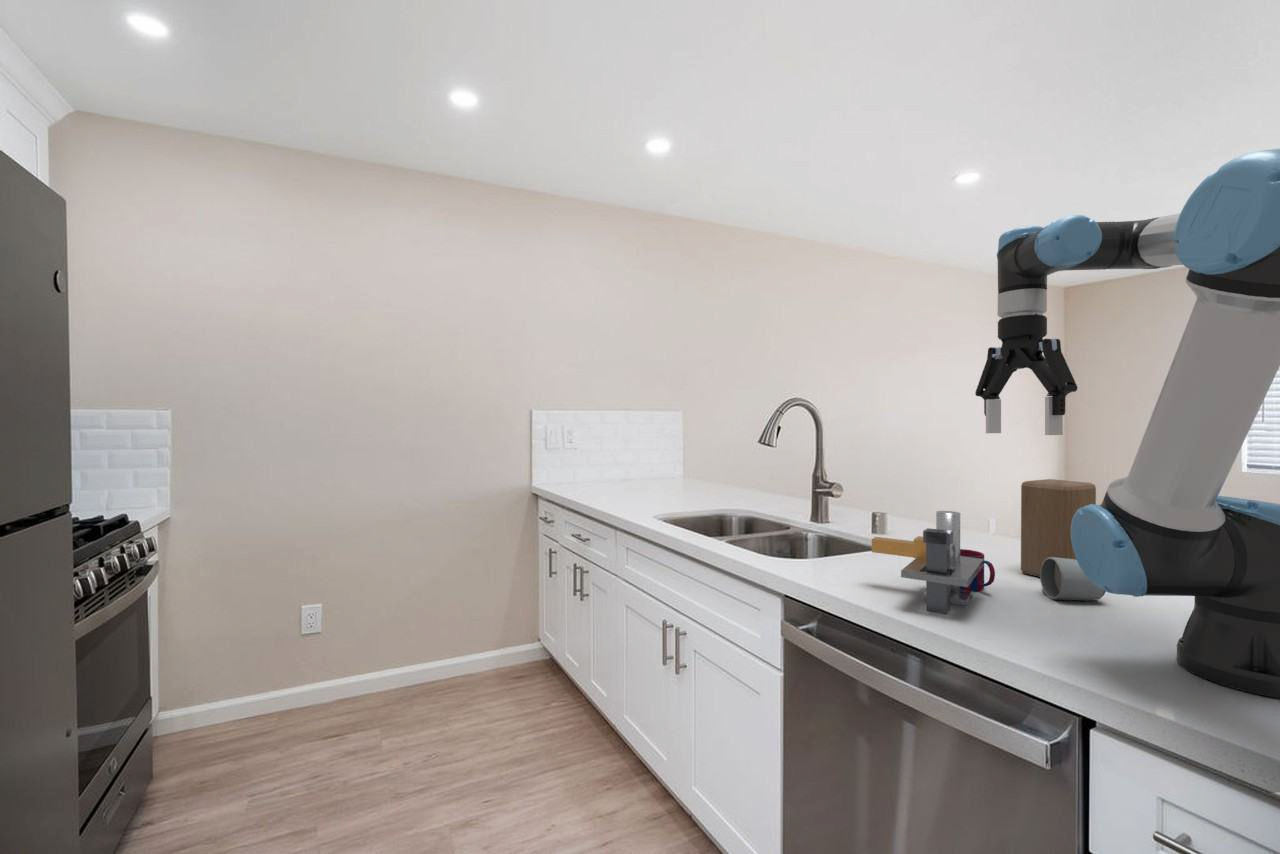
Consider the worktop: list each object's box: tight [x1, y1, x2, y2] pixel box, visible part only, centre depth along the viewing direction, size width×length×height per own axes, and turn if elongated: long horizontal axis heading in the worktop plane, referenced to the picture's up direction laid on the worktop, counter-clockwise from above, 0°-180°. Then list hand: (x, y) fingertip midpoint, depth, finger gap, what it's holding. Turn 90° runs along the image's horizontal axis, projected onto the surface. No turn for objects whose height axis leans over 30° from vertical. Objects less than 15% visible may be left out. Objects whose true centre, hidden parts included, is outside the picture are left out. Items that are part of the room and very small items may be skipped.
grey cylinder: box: [1039, 557, 1106, 602], centre depth 112 cm, size 11×8×8 cm
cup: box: [960, 548, 996, 592], centre depth 118 cm, size 7×10×7 cm
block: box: [1020, 478, 1097, 578], centre depth 126 cm, size 10×10×20 cm
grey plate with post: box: [871, 510, 985, 607], centre depth 112 cm, size 18×19×16 cm
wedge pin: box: [922, 527, 953, 616], centre depth 105 cm, size 4×3×14 cm
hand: (1021, 434), depth 108 cm, fingers open, 13 cm apart
